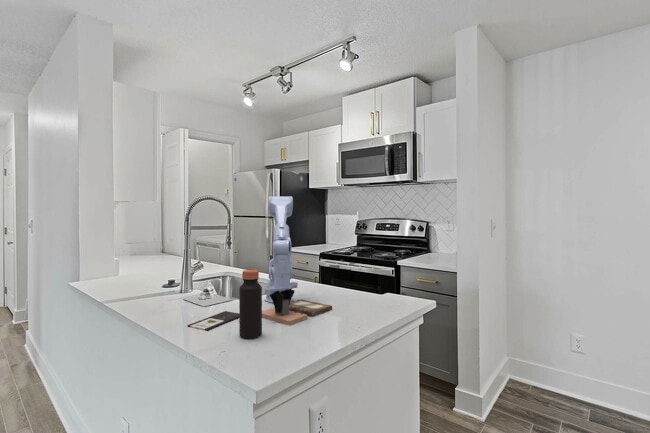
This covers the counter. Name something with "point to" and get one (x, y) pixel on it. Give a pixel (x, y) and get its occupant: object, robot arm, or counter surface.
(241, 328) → the bottle
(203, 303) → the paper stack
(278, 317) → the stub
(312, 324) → the counter surface
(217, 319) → the chocolate bar
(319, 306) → the board
